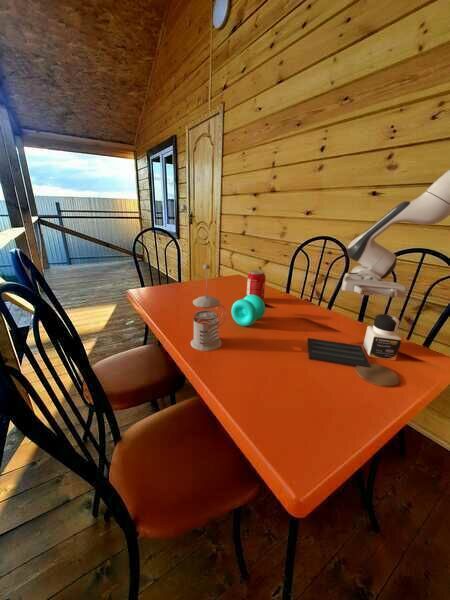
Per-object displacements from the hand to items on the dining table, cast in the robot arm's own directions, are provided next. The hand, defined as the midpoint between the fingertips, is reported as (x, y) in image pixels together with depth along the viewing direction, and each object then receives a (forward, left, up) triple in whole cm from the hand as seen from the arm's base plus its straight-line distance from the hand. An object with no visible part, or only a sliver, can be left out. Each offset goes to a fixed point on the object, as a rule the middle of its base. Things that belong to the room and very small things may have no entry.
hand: (378, 293), depth 84 cm
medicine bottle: (-7, +11, -15) cm, 20 cm away
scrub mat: (+1, +21, -15) cm, 26 cm away
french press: (+30, +47, -15) cm, 58 cm away
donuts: (+33, +26, -15) cm, 45 cm away
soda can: (+45, +9, -15) cm, 49 cm away
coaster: (-11, +23, -15) cm, 30 cm away
